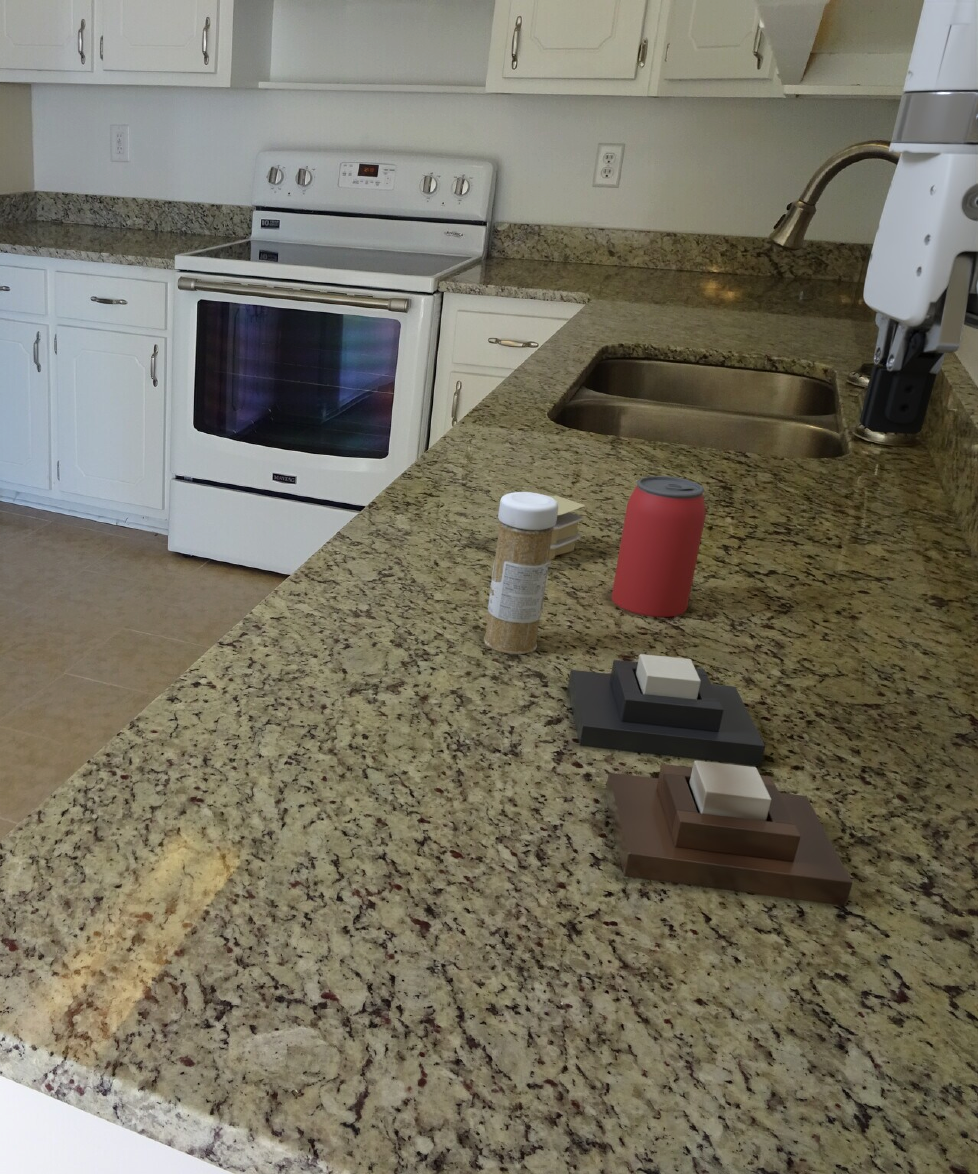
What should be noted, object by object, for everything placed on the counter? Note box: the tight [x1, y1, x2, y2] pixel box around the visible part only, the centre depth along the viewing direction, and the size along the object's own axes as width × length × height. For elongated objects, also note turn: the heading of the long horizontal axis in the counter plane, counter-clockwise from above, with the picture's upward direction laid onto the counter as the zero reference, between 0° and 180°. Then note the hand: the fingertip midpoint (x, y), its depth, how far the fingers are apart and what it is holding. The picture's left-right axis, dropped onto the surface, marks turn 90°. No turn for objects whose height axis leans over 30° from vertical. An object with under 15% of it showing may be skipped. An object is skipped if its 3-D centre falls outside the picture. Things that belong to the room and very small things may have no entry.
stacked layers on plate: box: [548, 494, 586, 561], centre depth 115 cm, size 10×9×6 cm
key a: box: [689, 759, 771, 821], centre depth 67 cm, size 4×4×2 cm
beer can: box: [611, 475, 707, 618], centre depth 101 cm, size 7×7×12 cm
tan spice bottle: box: [483, 491, 558, 655], centre depth 92 cm, size 5×5×13 cm
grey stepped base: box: [567, 659, 766, 767], centre depth 81 cm, size 12×9×4 cm
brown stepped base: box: [604, 763, 853, 907], centre depth 68 cm, size 12×9×4 cm
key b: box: [636, 653, 701, 699], centre depth 80 cm, size 4×4×2 cm
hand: (889, 429), depth 73 cm, fingers closed
